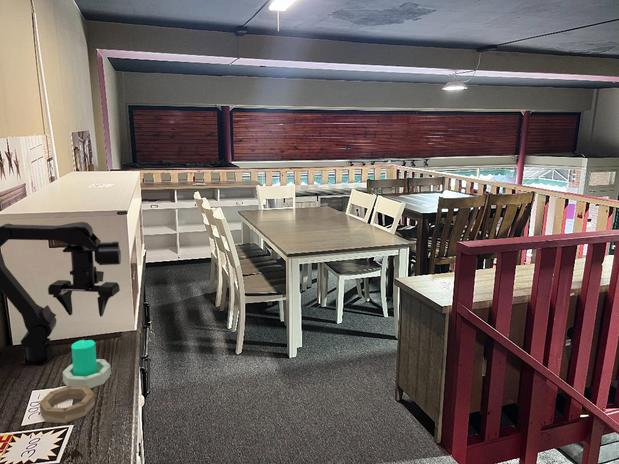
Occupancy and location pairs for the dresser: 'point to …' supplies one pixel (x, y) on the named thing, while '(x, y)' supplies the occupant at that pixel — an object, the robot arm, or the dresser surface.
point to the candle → (84, 358)
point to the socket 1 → (89, 380)
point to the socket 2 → (67, 413)
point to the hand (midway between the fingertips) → (86, 315)
